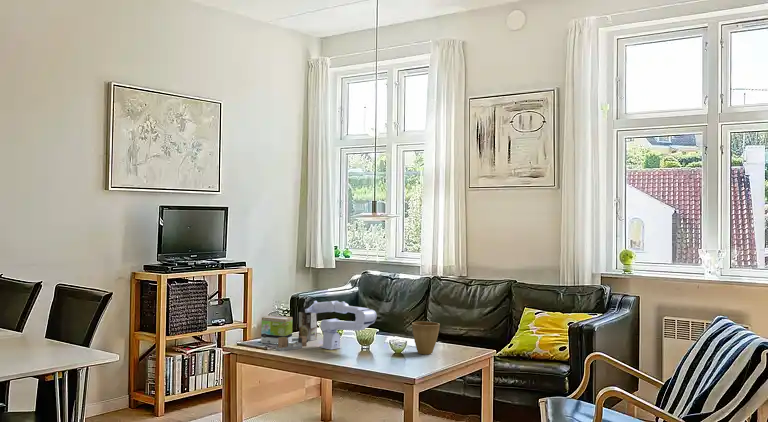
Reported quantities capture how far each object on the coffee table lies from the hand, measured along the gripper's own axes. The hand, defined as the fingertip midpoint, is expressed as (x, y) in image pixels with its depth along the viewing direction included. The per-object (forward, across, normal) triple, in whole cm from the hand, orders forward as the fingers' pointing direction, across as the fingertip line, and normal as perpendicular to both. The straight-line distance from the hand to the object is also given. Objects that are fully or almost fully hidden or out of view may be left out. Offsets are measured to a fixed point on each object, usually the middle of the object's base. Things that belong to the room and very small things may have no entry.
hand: (305, 308), depth 397 cm
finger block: (-3, +11, +19) cm, 22 cm away
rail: (-5, +22, +17) cm, 28 cm away
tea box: (+13, +15, +16) cm, 25 cm away
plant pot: (-62, -22, +33) cm, 74 cm away
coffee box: (+10, -6, +19) cm, 22 cm away
